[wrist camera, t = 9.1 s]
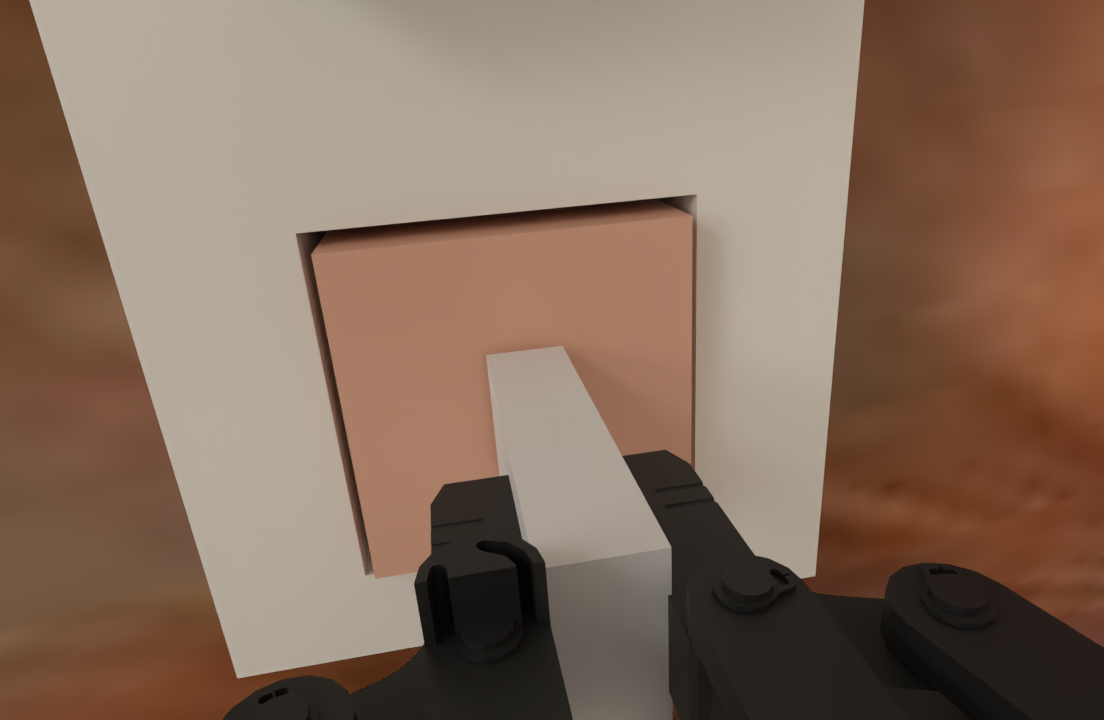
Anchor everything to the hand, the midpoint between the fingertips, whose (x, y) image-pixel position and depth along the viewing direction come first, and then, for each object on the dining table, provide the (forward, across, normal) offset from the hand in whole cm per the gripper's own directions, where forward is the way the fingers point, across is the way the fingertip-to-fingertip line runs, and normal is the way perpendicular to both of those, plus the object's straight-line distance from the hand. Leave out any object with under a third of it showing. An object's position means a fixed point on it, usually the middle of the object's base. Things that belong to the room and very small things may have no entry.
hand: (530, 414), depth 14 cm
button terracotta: (+3, 0, 0) cm, 3 cm away
